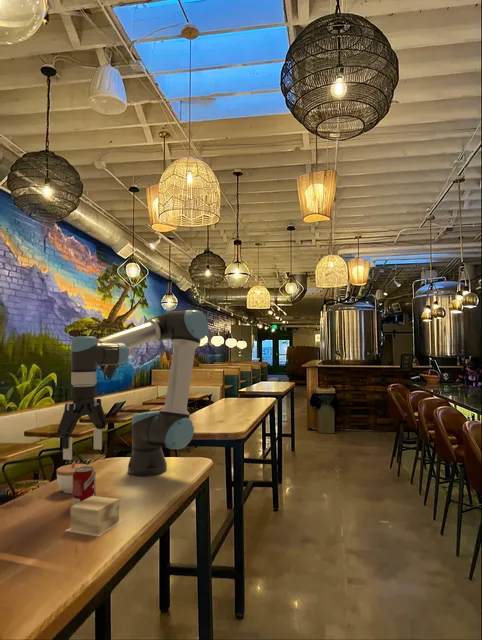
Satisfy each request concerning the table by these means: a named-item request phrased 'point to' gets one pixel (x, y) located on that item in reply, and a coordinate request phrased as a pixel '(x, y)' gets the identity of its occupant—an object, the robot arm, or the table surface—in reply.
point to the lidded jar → (67, 476)
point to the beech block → (94, 514)
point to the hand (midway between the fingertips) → (83, 454)
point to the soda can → (83, 483)
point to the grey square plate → (93, 533)
